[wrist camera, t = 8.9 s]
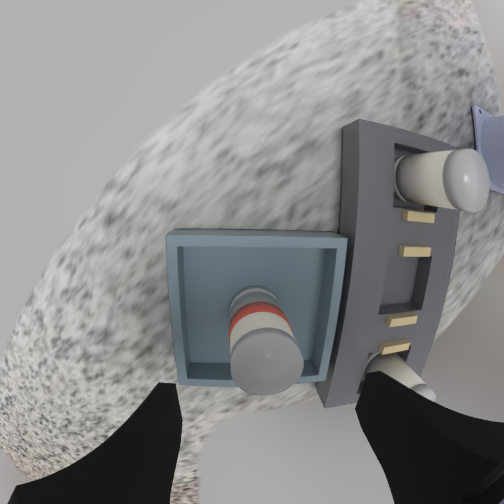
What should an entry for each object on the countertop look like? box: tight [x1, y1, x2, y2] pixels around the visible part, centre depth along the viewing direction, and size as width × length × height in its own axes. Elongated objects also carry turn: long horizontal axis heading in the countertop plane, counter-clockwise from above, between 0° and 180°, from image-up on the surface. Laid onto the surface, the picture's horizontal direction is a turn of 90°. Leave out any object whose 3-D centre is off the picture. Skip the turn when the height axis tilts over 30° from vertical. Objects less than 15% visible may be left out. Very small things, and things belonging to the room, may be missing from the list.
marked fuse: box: [229, 286, 304, 395], centre depth 14 cm, size 3×3×6 cm
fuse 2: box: [394, 149, 490, 213], centre depth 13 cm, size 3×3×6 cm
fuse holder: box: [316, 119, 460, 408], centre depth 17 cm, size 9×20×3 cm, turn 178°
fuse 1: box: [363, 352, 436, 402], centre depth 16 cm, size 3×3×6 cm
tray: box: [166, 229, 348, 387], centre depth 17 cm, size 10×10×2 cm
